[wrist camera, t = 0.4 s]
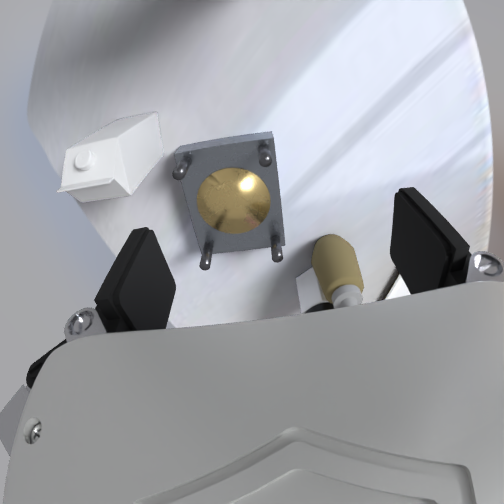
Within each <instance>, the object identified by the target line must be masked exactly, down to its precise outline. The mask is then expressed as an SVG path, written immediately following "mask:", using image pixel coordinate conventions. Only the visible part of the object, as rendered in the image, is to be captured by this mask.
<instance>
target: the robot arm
mask: <svg viewBox="0 0 504 504" xmlns="http://www.w3.org/2000/svg"><path fill="white" fill-rule="evenodd" d="M469 247H470V246H469V245H468V243H467V242H466V241H465V240H464V239H463V238H462V237H461V235H460V234H459V233H458V232H457V231H456V230H455V229H454V228H453V227H452V225H451V224H450V223H449V222H448V221H447V220H446V219H445V218H444V217H443V216H442V215H441V214H440V213H439V212H438V211H437V210H436V208H435V207H434V206H433V205H432V204H431V203H430V202H429V201H428V200H427V199H426V198H425V197H424V196H423V195H421V194H420V193H419V192H418V191H417V190H416V189H415V188H414V187H410V188H400V189H399V191H398V192H397V193H395V198H394V213H393V226H392V236H391V246H390V256H391V259H392V261H393V263H394V264H395V266H396V268H397V270H398V271H399V273H400V275H401V277H402V279H403V281H404V282H405V284H406V286H407V288H408V290H409V292H410V294H411V295H406V296H402V297H397V298H392V299H387V300H381V301H376V302H371V303H365V304H360V305H354V306H349V307H343V308H337V309H331V310H325V311H318V312H312V313H305V314H298V315H291V316H284V317H277V318H269V319H261V320H253V321H245V322H236V323H226V324H216V325H206V326H195V327H183V328H171V329H166V325H167V322H168V318H169V314H170V310H171V306H172V302H173V299H174V295H175V291H176V284H175V281H174V279H173V276H172V274H171V272H170V269H169V267H168V265H167V262H166V260H165V258H164V255H163V253H162V250H161V248H160V246H159V243H158V241H157V238H156V236H155V233H154V231H153V230H149V229H148V228H147V227H144V228H139V229H134V230H133V231H132V232H131V234H130V235H129V237H128V239H127V240H126V242H125V244H124V246H123V247H122V249H121V251H120V253H119V254H118V256H117V258H116V260H115V262H114V263H113V265H112V267H111V269H110V271H109V273H108V274H107V276H106V278H105V280H104V282H103V284H102V286H101V288H100V290H99V292H98V294H97V295H96V298H95V299H94V301H95V303H96V304H97V306H96V308H95V309H93V308H84V309H81V310H79V311H77V312H76V313H74V314H73V315H72V316H71V317H70V318H69V320H68V321H67V323H66V325H65V328H64V333H65V336H66V339H65V340H64V341H62V342H61V343H60V344H58V345H57V346H56V347H54V348H53V349H52V350H50V351H49V352H48V353H46V354H45V355H44V356H42V357H41V358H40V359H38V360H37V361H36V362H34V363H33V364H32V365H31V366H30V368H29V371H28V373H27V377H26V381H27V386H24V385H22V386H21V388H20V389H19V390H18V391H17V392H16V394H15V395H14V396H13V397H12V399H11V400H10V401H9V402H8V404H7V405H6V406H5V407H4V409H3V410H2V412H1V413H0V439H1V441H2V443H3V445H4V447H5V449H6V451H7V452H8V454H9V456H10V460H9V465H8V470H7V476H6V483H5V489H4V498H3V504H504V263H503V261H501V259H500V258H498V257H497V256H496V255H494V254H491V253H489V252H485V251H478V252H475V253H474V254H472V255H471V253H470V252H469Z"/></svg>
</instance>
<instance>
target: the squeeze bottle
mask: <svg viewBox="0 0 504 504" xmlns="http://www.w3.org/2000/svg"><path fill="white" fill-rule="evenodd" d="M311 264H312V266H313V269H314V272H315V274H316V276H317V279H318V281H319V284H320V286H321V289H322V291H323V293H324V296H325V298H326V300H327V301H328V302H330V303H332V304H333V306H334V309H337V308H343V307H349V306H354V305H360V304H361V303H362V300H363V298H362V291H363V288H364V284H363V280H362V276H361V272H360V269H359V265H358V261H357V258H356V254H355V251H354V248H353V247H352V246H351V245H350V244H349V243H348V242H347V241H345V240H344V239H343V238H341V237H340V236H337V235H335V234H328V235H325V236H323V237H321V238H320V239H319V240H318V241H317V242H316V244H315V246H314V250H313V254H312V260H311Z"/></svg>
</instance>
